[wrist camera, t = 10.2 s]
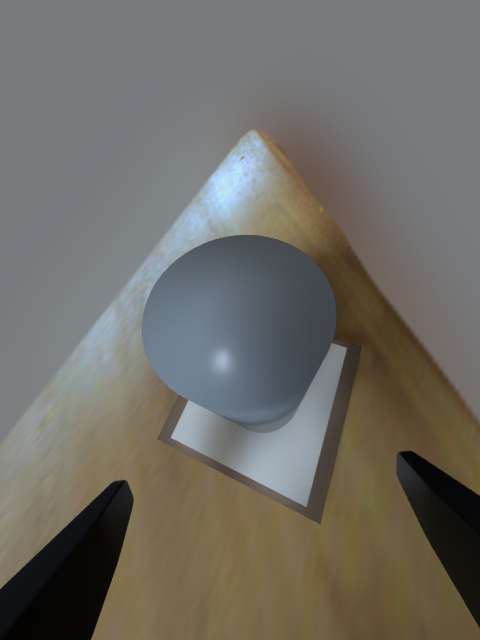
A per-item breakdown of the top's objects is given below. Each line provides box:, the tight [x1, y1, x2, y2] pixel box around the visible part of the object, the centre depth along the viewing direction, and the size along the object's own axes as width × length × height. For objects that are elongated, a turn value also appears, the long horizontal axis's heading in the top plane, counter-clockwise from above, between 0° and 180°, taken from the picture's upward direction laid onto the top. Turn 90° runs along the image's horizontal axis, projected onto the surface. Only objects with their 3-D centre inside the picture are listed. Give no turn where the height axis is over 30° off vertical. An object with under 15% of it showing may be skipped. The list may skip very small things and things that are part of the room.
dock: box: [157, 339, 361, 524], centre depth 20 cm, size 12×12×3 cm
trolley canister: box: [142, 235, 337, 433], centre depth 13 cm, size 6×6×13 cm
